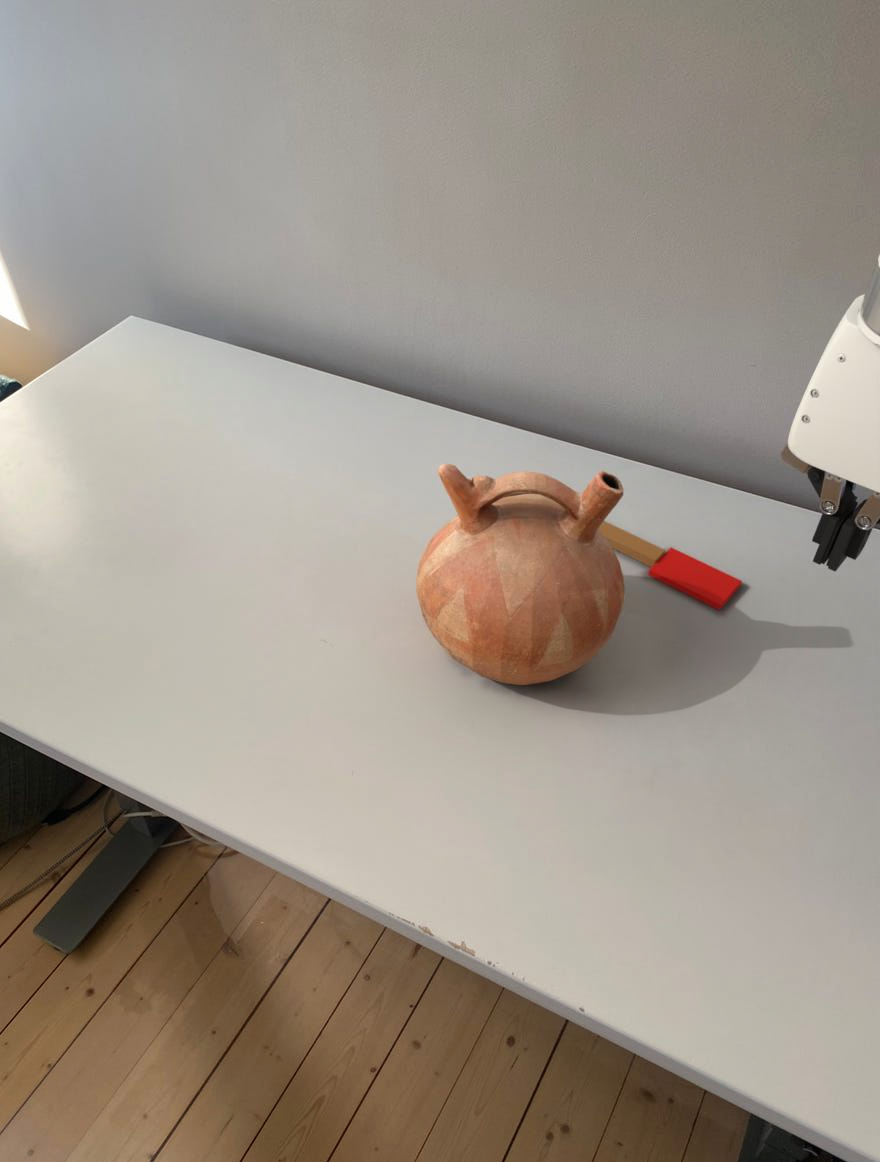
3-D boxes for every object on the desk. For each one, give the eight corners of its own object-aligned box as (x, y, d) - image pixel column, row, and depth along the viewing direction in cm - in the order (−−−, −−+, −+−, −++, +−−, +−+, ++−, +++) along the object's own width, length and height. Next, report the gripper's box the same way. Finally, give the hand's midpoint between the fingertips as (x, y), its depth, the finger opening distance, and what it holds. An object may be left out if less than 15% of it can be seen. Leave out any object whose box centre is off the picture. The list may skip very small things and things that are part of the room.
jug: (402, 703, 84) (397, 535, 69) (432, 568, 96) (433, 401, 81) (609, 728, 82) (649, 560, 67) (612, 587, 94) (647, 418, 79)
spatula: (557, 499, 103) (558, 490, 102) (740, 586, 93) (743, 577, 92) (534, 518, 101) (535, 510, 100) (719, 610, 91) (722, 602, 90)
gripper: (1112, 319, 48) (964, 574, 62) (834, 241, 55) (756, 486, 69) (1069, 382, 45) (922, 638, 58) (777, 290, 51) (706, 539, 65)
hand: (832, 555), depth 63 cm, fingers closed
